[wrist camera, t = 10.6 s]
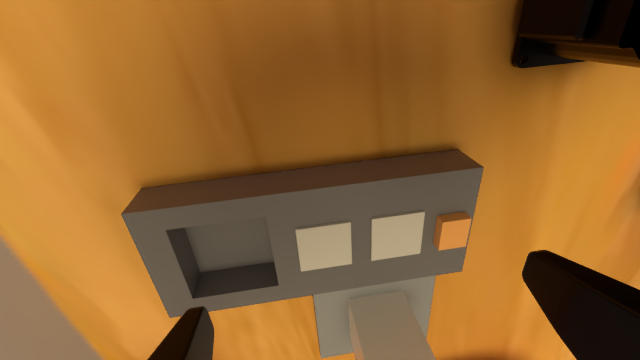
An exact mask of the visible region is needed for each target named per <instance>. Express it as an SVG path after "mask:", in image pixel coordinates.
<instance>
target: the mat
mask: <svg viewBox="0 0 640 360" xmlns="http://www.w3.org/2000/svg"><path fill="white" fill-rule="evenodd" d="M435 276H436V275H435ZM435 276H429V277H422V278H416V279H410V280H404V281H397V282H391V283H385V284H379V285H372V286H366V287H360V288H354V289H347V290H341V291H335V292H329V293H322V294H316V295H313V298H314V306H315V314H316V322H317V330H318V338H319V346H320V354H321V358H326V357H331V356H337V355H342V354H348V353H353V352H354V351H353V347H352V343H351V338H350V332H349V304H348V299H352V298H358V297H365V296H371V295H377V294H383V293H389V292H395V291H401V290H403V292H404V294H405V296H406V298H407V300H408V302H409V304H410V306H411V309H412V311H413V313H414V315H415V317H416V319H417V321H418V323H419V325H420V327H421V329H422V332H423V334H424V336H425V338H426V337H427V330H428V324H429V317H430V310H431V303H432V297H433V290H434V283H435Z"/></svg>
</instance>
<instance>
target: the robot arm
mask: <svg viewBox="0 0 640 360" xmlns="http://www.w3.org/2000/svg"><path fill="white" fill-rule="evenodd" d="M522 57H523V60H522V62H521V63H520V60H521V58H522ZM584 61H592V62H600V63H608V64H616V65H624V66H632V67H639V68H640V0H525V2H524V7H523V11H522V16H521V21H520V25H519V30H518V35H517V39H516V44H515V49H514V53H513V58H512V64H513V66H514V67H518V68H528V67H538V66H547V65H556V64H565V63H575V62H584ZM522 277H523V280H524V282H525V283H526V285H527V287H528V288H529V290H530V291H531V293H532V295H533V296H534V298H535V299H536V301H537V303H538V304H539V306H540V307H541V309H542V310H543V312H544V314H545V315H546V317H547V318H548V320H549V322H550V323H551V325H552V326H553V328H554V329H555V331H556V332H557V334H558V335H559V336H560V338H561V339H562V341H563V342H564V343H565V345H566V346H567V347H568V349H569V350H570V351H571V352H572V354H573V355H574V356H575V358H576V359H577V360H640V290H638V289H636V288H634V287H631V286H629V285H627V284H624V283H622V282H620V281H617V280H615V279H613V278H610V277H608V276H606V275H603V274H601V273H599V272H596V271H594V270H592V269H589V268H587V267H585V266H583V265H580V264H578V263H576V262H573V261H571V260H569V259H566V258H564V257H562V256H559V255H557V254H555V253H552V252H550V251H547V250H539V251H533V252H530V253H529V254H528V256H527V259H526V262H525V265H524V268H523V271H522ZM213 343H214V327H213V324H212V321H211V319H210V316H209V314H208V311H207V309H206V307H204V306H200V307H194V308H189V309H188V310H187V311H186V312H185V313H184V314H183V316H182V317H181V318H180V319H179V321H178V322H177V323H176V324H175V326H174V327H173V328H172V329H171V331H170V332H169V333H168V334H167V336H166V337H165V338H164V339H163V341H162V342H161V343H160V345H159V346H158V347H157V348H156V350H155V351H154V352H153V353H152V355H151V356H150V357H149V358H148V360H212V356H213Z"/></svg>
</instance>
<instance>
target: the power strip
mask: <svg viewBox="0 0 640 360" xmlns="http://www.w3.org/2000/svg"><path fill="white" fill-rule="evenodd" d="M483 168H484V167H483V166H481V165H480V164H478V163H477V162H475V161H474V160H473V159H471V158H470V157H468V156H467V155H465V154H464V153H463V152H461V151H460V150H458V149H456V150H448V151H440V152H431V153H423V154H415V155H407V156H399V157H391V158H383V159H375V160H367V161H359V162H351V163H342V164H334V165H326V166H318V167H310V168H302V169H294V170H286V171H278V172H270V173H262V174H253V175H245V176H237V177H229V178H221V179H213V180H205V181H197V182H189V183H181V184H172V185H164V186H156V187H148V188H141V190H140V191H139V192H138V193H137V195H136V196H135V197H134V199H133V200H132V201H131V202H130V204H129V205H128V206H127V207H126V209H125V210H124V211H123V212H122V214H121V215H122V217H123V219H124V222H125V224H126V226H127V228H128V230H129V232H130V234H131V236H132V239H133V241H134V243H135V245H136V247H137V249H138V251H139V253H140V256H141V258H142V260H143V262H144V264H145V266H146V268H147V271H148V273H149V275H150V277H151V279H152V281H153V283H154V285H155V288H156V290H157V292H158V294H159V296H160V298H161V300H162V302H163V305H164V307H165V309H166V311H167V313H168V315H169V317H170V318H172V317H178V316H183V314H184V313H185V312H186V311H187V310H188V309H189V308H194V307H200V306H204V307H206V309H207V311H208V312H209V311H216V310H222V309H228V308H235V307H241V306H247V305H253V304H260V303H266V302H272V301H278V300H285V299H291V298H297V297H303V296H310V295H316V294H322V293H329V292H335V291H341V290H347V289H354V288H360V287H366V286H372V285H379V284H385V283H391V282H397V281H404V280H410V279H416V278H422V277H429V276H435V275H441V274H448V273H454V272H460V271H462V268H463V263H464V258H465V254H466V249H467V244H468V239H469V235H470V230H471V225H472V220H473V216H474V211H475V206H476V201H477V197H478V192H479V187H480V182H481V178H482V173H483Z"/></svg>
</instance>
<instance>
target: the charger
mask: <svg viewBox="0 0 640 360" xmlns="http://www.w3.org/2000/svg"><path fill="white" fill-rule="evenodd" d="M348 304H349V332H350V338H351V343H352V347H353V351H354V355H355V359H356V360H436V359H435V357H434V355H433V352H432V350H431V348H430V346H429V344H428V342H427V340H426V338H425V336H424V334H423V332H422V329H421V327H420V325H419V323H418V321H417V319H416V317H415V315H414V313H413V311H412V309H411V306H410V304H409V302H408V300H407V298H406V296H405V294H404V292H403V290H401V291H395V292H389V293H383V294H377V295H371V296H365V297H358V298H352V299H348Z"/></svg>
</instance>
